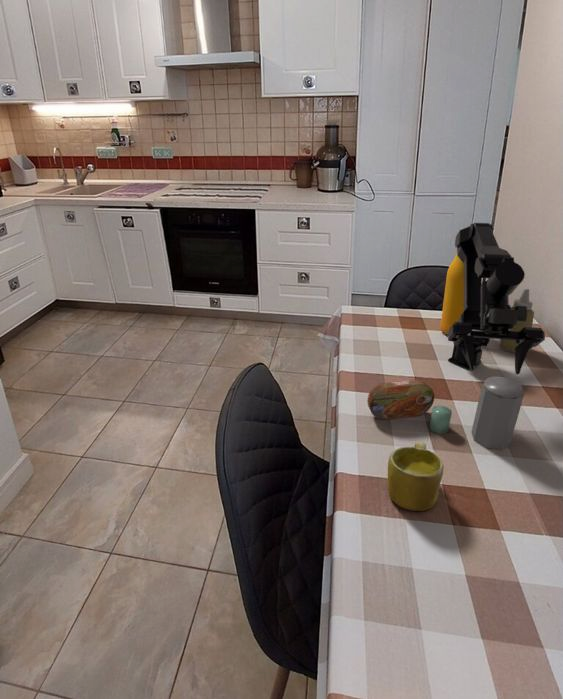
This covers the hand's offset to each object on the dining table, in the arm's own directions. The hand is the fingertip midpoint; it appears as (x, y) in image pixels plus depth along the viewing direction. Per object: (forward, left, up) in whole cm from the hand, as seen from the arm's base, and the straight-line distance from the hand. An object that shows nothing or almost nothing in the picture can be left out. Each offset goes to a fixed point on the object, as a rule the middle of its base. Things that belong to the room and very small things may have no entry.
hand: (494, 372), depth 102 cm
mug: (+4, -31, -12) cm, 33 cm away
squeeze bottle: (-13, +37, -12) cm, 41 cm away
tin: (-13, -14, -12) cm, 23 cm away
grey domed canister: (+5, -6, -12) cm, 14 cm away
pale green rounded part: (-4, -11, -12) cm, 17 cm away
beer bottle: (-29, +33, -11) cm, 46 cm away
